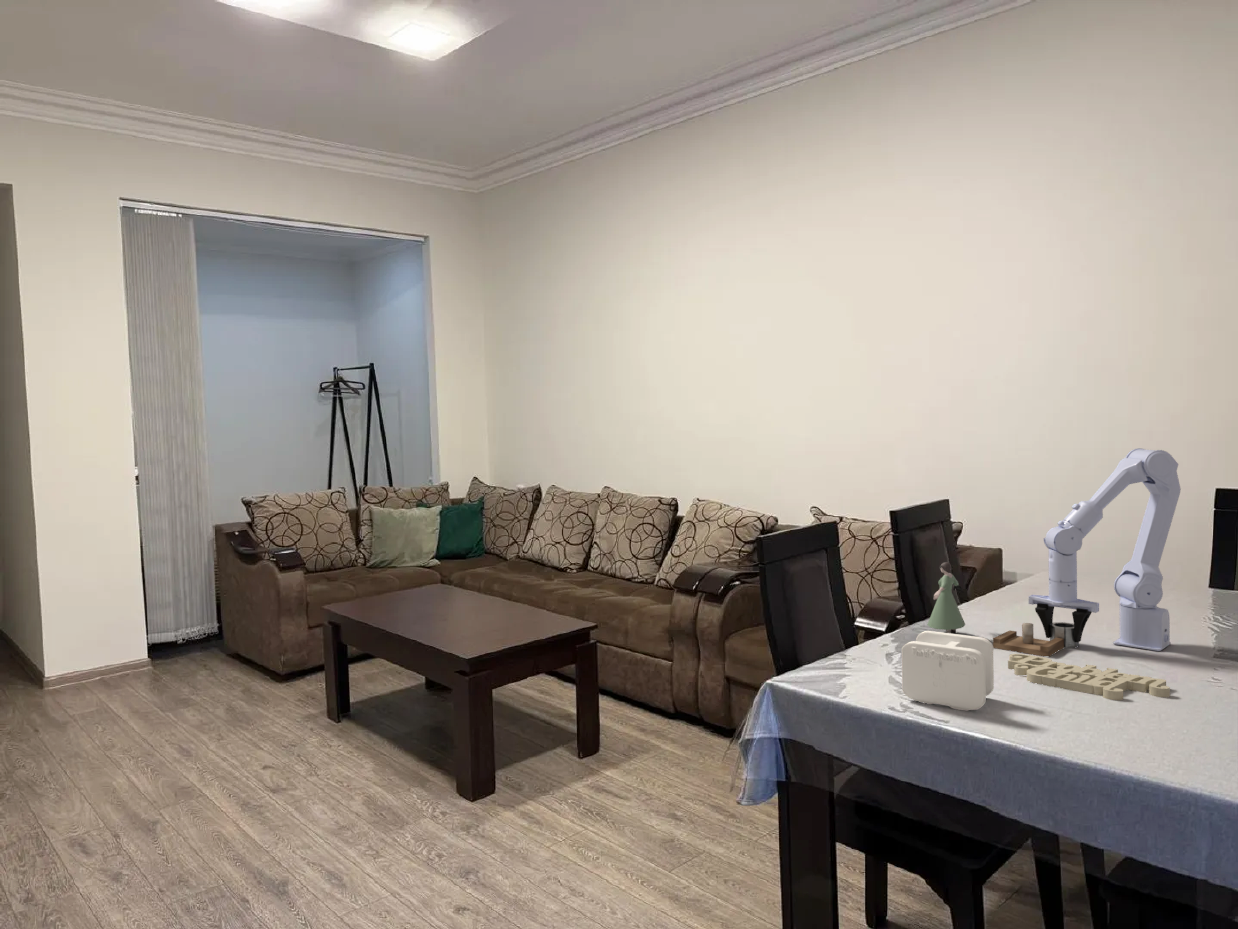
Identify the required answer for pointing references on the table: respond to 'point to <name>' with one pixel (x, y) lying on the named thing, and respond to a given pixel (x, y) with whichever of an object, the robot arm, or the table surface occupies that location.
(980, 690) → the cable organizer
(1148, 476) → the robot arm
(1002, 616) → the table surface
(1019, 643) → the shaft block
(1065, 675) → the decorative sign
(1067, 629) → the tube
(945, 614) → the character figurine
